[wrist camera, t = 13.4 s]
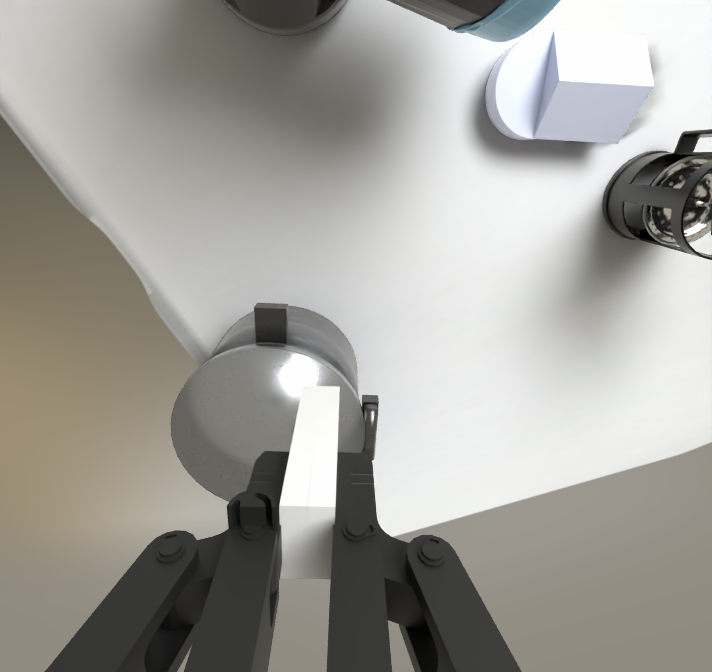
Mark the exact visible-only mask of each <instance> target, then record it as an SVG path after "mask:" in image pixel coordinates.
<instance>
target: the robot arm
mask: <svg viewBox="0 0 712 672" xmlns="http://www.w3.org/2000/svg"><path fill="white" fill-rule="evenodd" d="M346 1H347V0H223V2H224V3H225V4H226V5H227V6H228V7H229V8H230V9H231V11H232V12H234V13H235V14H236V15H237V16H238V17H239V18H241V19H242V20H243V21H245V22H246V23H248V24H249V25H251V26H253V27H255V28H257V29H259V30H262V31H264V32H268V33H271V34H277V35H297V34H302V33H306V32H309V31H311V30H314V29H316V28H318V27H320V26H321V25H323V24H324V23H326V22H327V21H329V20H330V19H331V18H332V17H333V16H334V15H335V14H336V13H337V12H338V11H339V10H340V9H341V8H342V7H343V5H344V4H345V3H346ZM387 1H390V2H392V3H394V4H397V5H399V6H401V7H403V8H406V9H408V10H410V11H413V12H415V13H417V14H419V15H422V16H424V17H426V18H428V19H431V20H433V21H435V22H438V23H440V24H442V25H444V26H446V27H447V28H448V29H449V30H451V31H455V32H457V33H469V34H472V35H475V36H478V37H481V38H484V39H487V40H490V41H494V42H504V41H509V40H512V39H514V38H517V37H519V36H521V35H523V34H524V33H526V32H527V31H529V30H530V29H532V28H533V27H534V26H535V25H537V24H538V23H539V22H540V21H541V20H542V19H543V18H544V17H545V16H546V15H547V14H548V13H549V12H550V11H551V10H552V9H553V8H554V7H555V6H556V5H557V4H558V2H559V1H560V0H387ZM339 392H340V387H337V386H308V385H303V387H302V392H301V398H300V403H299V408H298V413H297V418H296V423H295V428H294V433H293V438H292V443H291V448H290V452H284V451H264V452H263V453H262V454H261V455H260V456H259V457H258V458H257V460H256V461H255V464H254V468H253V471H252V474H251V478H250V482H249V484H248V487H247V491H244V492H242V493H239V494H237V495H236V496H235V497H233V498H232V499H231V500H230V502H229V504H228V505H227V513H228V525H229V529H228V530H226V531H225V532H223V533H221V534H219V535H216V536H213V537H209V538H205V539H201V540H196V538H195V537H194V535H193V534H191V533H188V532H186V531H172V532H168V533H165V534H163V535H161V536H159V537H157V538H155V539H154V540H153V541H152V542H151V543H150V544H149V545H148V546H147V547H146V549H145V550H144V551H143V552H142V553H141V555H140V556H139V557H138V558H137V559H136V561H135V562H134V563H133V564H132V566H131V567H130V568H129V569H128V570H127V572H126V573H125V574H124V575H123V577H122V578H121V579H120V580H119V582H118V583H117V584H116V585H115V586H114V588H113V589H112V590H111V592H110V593H109V594H108V595H107V596H106V598H105V599H104V600H103V601H102V602H101V604H100V605H99V606H98V607H97V609H96V610H95V611H94V612H93V613H92V615H91V616H90V617H89V618H88V620H87V621H86V622H85V623H84V624H83V626H82V627H81V628H80V629H79V631H78V632H77V633H76V634H75V636H74V637H73V638H72V639H71V640H70V642H69V643H68V644H67V645H66V647H65V648H64V649H63V650H62V651H61V653H60V654H59V655H58V657H57V658H56V659H55V660H54V661H53V663H52V664H51V665H50V666H49V668H48V669H47V670H46V671H45V672H177V671H178V669H179V667H180V665H181V664H182V662H183V660H184V658H185V656H186V655H187V653H188V651H189V649H190V647H191V646H192V647H191V651H190V654H189V657H188V661H187V663H186V666H185V670H184V672H267V671H268V665H269V658H270V652H271V645H272V639H273V632H274V625H275V619H276V613H277V606H278V600H279V579H280V573H281V578H297V579H331V586H330V587H331V588H330V610H329V632H328V656H327V672H392V666H391V654H390V642H389V630H388V620H389V621H392V622H395V623H398V624H399V627H400V630H401V633H402V636H403V639H404V641H405V645H406V647H407V650H408V653H409V656H410V659H411V662H412V665H413V667H414V670H415V672H521V670H520V668H519V666H518V665H517V663H516V661H515V659H514V657H513V655H512V654H511V652H510V650H509V648H508V646H507V645H506V643H505V641H504V639H503V637H502V636H501V634H500V632H499V630H498V628H497V626H496V625H495V623H494V621H493V619H492V617H491V616H490V614H489V612H488V611H487V608H486V607H485V605H484V603H483V601H482V599H481V597H480V596H479V594H478V592H477V591H476V588H475V587H474V585H473V583H472V581H471V579H470V578H469V576H468V574H467V573H466V570H465V569H464V567H463V565H462V563H461V561H460V559H459V558H458V556H457V554H456V552H455V551H454V549H453V548H452V547H451V546H450V544H449V543H448V542H446V541H444V540H443V539H441V538H439V537H436V536H433V535H421V536H419V537H416V538H414V539H413V540H412V541H411V542H410V543H406V542H404V541H401V540H398V539H395V538H393V537H391V536H389V535H388V534H386V533H385V532H384V531H383V530H382V529H381V527H380V525H379V524H378V521H377V515H376V503H375V490H374V478H373V465H372V462H371V460H370V459H369V457H368V456H367V454H366V453H352V452H337V449H338V421H339Z"/></svg>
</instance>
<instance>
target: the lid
mask: <svg viewBox="0 0 712 672" xmlns="http://www.w3.org/2000/svg"><path fill="white" fill-rule="evenodd" d="M303 385H308V386H337V387H340V392H339V421H338V449H337V452H352V453H366V454H367V456H368V457H369V459H370V460H371V461H372V460H374V456H375V443H376V431H377V418H378V407H377V406H376V405H373V404H368V405H366V406H365V407H364V416H363V411H362V407H361V404H360V401H359V398H358V396H357V394H356V392H355V390H354V389H353V387H352V386H351V384H350V383H349V381H348V380H347V379H346V378H345V377H344V376H343V375H342V374H341V372H340V371H338V370H337V369H336V368H335V367H334V366H332V365H331V364H330V363H328V362H327V361H325V360H324V359H322V358H320V357H319V356H317V355H314V354H312V353H310V352H308V351H305V350H302V349H299V348H296V347H292V346H287V345H282V344H269V343H267V344H252V345H245V346H240V347H237V348H233V349H230V350H227V351H225V352H223V353H221V354H218V355H216V356H215V357H213V358H211V359H210V360H208V361H207V362H205V363H204V364H203V365H202V366H200V367H199V368H198V369H197V370H196V371H195V372H194V373H193V374H192V375H191V377H190V378H189V379H188V381H187V382H186V384H185V385H184V387H183V388H182V390H181V392H180V393H179V395H178V397H177V400H176V402H175V404H174V408H173V412H172V418H171V436H172V441H173V445H174V448H175V451H176V453H177V456H178V458H179V459H180V461H181V463H182V465H183V466H184V468H185V469H186V470H187V471H188V473H189V474H190V475H191V476H192V477H193V478H194V479H195V480H196V481H197V482H198V483H199V484H200V485H201V486H203V487H204V488H205V489H206V490H208V491H210V492H211V493H213V494H214V495H216V496H218V497H220V498H222V499H224V500H226V501H229V502H230V500H231V499H232V498H233V497H235V496H236V495H237V494H239V493H242V492H244V491H247V487H248V484H249V482H250V478H251V474H252V471H253V468H254V464H255V461H256V460H257V458H258V457H259V456H260V455H261V454H262V453H263V452H264V451H284V452H290V448H291V443H292V438H293V433H294V428H295V423H296V418H297V413H298V408H299V403H300V398H301V392H302V387H303Z"/></svg>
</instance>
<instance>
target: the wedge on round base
mask: <svg viewBox="0 0 712 672" xmlns="http://www.w3.org/2000/svg"><path fill="white" fill-rule="evenodd" d="M653 88H654V83H653V77H652V71H651V65H650V60H649V54H648V48H647V42H646V36H642V35H627V34H611V33H596V32H581V31H566V30H544V31H539V32H536V33H533V34H531V35H529V36H527V37H526V38H524V39H523V40H521V41H520V42H518V43H517V44H515V45H514V46H512V47H511V48H510V49H508V50H507V51H506V52H505V53H504V54H503V55H502V56H501V57H500V58H499V59H498V61H497V62H496V64H495V65H494V67H493V69H492V71H491V73H490V75H489V78H488V81H487V85H486V92H485V101H486V108H487V112H488V115H489V118H490V120H491V121H492V123H493V125H494V126H495V127H496V128H497V129H498V130H499V131H500V132H501V133H502V134H504V135H505V136H508V137H510V138H513V139H517V140H531V139H546V140H564V141H582V142H599V143H617V144H618V142H619V141H620V139H621V138H622V136H623V134H624V133H625V131H626V130H627V128H628V127H629V125H630V124H631V122H632V120H633V119H634V117H635V116H636V114H637V113H638V111H639V109H640V108H641V106H642V105H643V103H644V102H645V100H646V98H647V97H648V95H649V94H650V92H651V91H652V89H653Z"/></svg>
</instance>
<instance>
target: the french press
mask: <svg viewBox="0 0 712 672" xmlns="http://www.w3.org/2000/svg"><path fill="white" fill-rule="evenodd" d="M701 137H712V129H709V130H696V131H685V132H683V133H682V134H681V136H680V139H679V141H678V144H677V146H676V149H675V151H674V153H670V152H667V151H650V152H646V153H643V154H640V155H637V156H636V157H634V158H632V159H630V160H629V161H628V162H626V163H625V164H624V165H623V166H621V167H620V169H619V170H618V171H617V172H616V173H615V174H614V176H613V177H612V179H611V180H610V182H609V184H608V186H607V189H606V192H605V195H604V201H603V211H604V216H605V219H606V222H607V224H608V225H609V227H610V228H611V229H612V230H613V231H614V232H615V233H616V234H618V235H620V236H621V237H624V238H628V239H632V240H642V241H646V242H649V243H653V244H657V245H660V246H664V247H667V248H671V249H674V250H678V251H681V252H685V253H688V254H692V255H695V256H699V257H703V258H706V259H710V260H712V255H707V254H703V253H699V252H696V251H695V250H694V249H693V248H692V247H691V246H690V245H689V243H690V242H693V241H695V240H697V239H699V238H701V237H703V236H704V235H705V234H707V233H708V232H709V231H711V235H712V152H693V151H694V149H695V146H696V144H697V141H698V139H699V138H701ZM650 164H662V165H665V166H667V168H666V169H664V170H663V171H662V172H661V173H660V174H659V175H658V176H657V177H656V178H655V179H654V180H653V181H652V182H651V184H650V185H638V184H631V183H632V182H633V180H634V179H635V177H636V176H637V175H638V174H639V173H640V172H641V171H642V170H643V169H644V168H645V167H647V166H648V165H650ZM624 202H631V203H637V204H642V208H641V214H642V220H643V223H644V226H645V228H633V227H630V226H629V225H627V223H626V220H625V217H624ZM674 245H679V246H680V247H677V246H674Z"/></svg>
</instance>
